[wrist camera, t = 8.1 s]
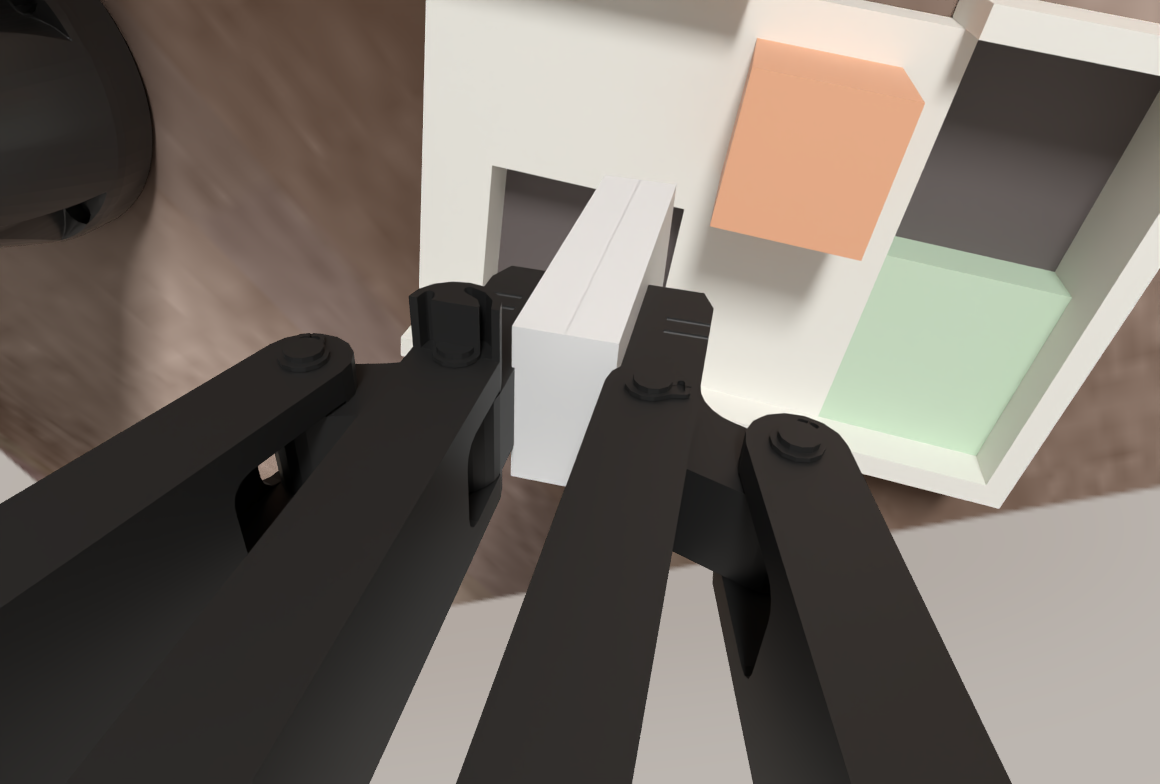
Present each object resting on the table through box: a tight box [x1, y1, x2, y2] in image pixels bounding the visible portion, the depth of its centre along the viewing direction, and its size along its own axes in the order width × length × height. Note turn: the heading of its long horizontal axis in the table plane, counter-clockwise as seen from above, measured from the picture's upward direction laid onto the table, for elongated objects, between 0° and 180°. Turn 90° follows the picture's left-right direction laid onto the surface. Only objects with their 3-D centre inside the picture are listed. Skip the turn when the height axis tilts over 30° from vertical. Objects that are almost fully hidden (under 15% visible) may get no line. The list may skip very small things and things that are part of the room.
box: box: [401, 0, 1160, 509], centre depth 30 cm, size 27×18×4 cm, turn 82°
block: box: [710, 38, 925, 261], centre depth 25 cm, size 5×5×5 cm
